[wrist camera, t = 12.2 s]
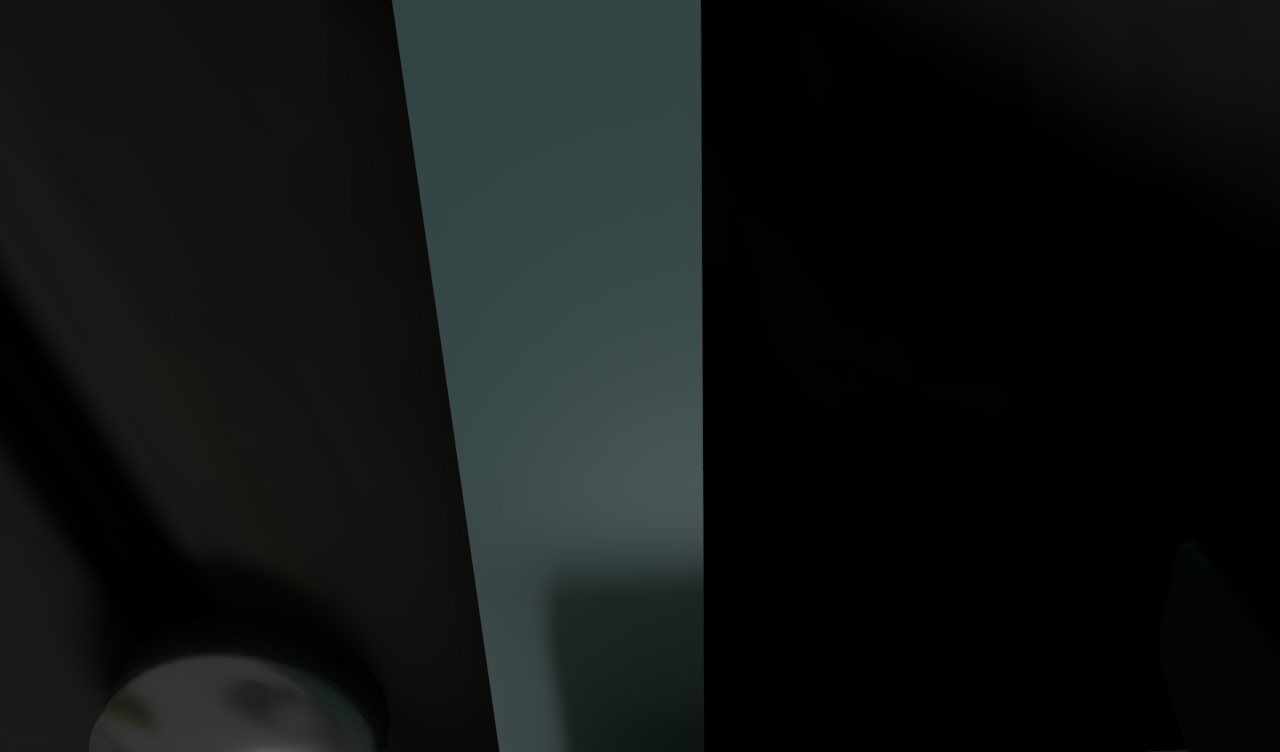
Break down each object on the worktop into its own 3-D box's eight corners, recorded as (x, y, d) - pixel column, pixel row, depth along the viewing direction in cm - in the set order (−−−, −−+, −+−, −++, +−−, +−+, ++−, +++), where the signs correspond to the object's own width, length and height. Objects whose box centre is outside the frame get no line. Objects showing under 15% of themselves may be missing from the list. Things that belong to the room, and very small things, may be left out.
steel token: (333, 590, 21) (311, 659, 20) (426, 771, 24) (411, 843, 22) (75, 632, 22) (36, 701, 20) (192, 803, 24) (165, 873, 23)
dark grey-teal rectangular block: (687, -165, 15) (701, -93, 11) (696, 765, 24) (704, 956, 20) (441, -156, 15) (381, -82, 11) (545, 768, 24) (529, 959, 20)
